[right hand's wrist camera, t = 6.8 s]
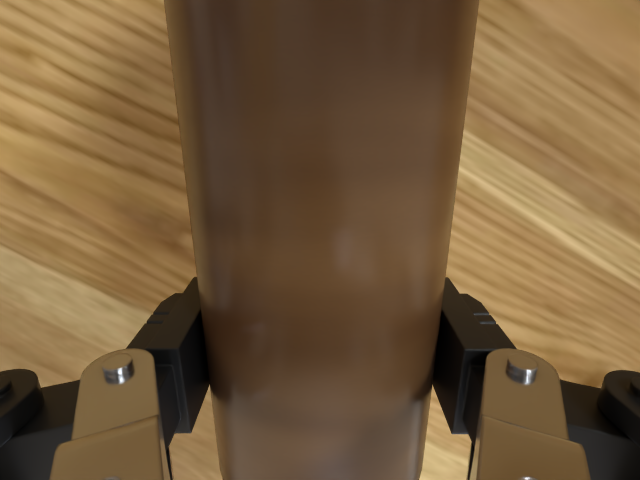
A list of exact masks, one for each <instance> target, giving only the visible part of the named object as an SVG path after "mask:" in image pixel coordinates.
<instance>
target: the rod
mask: <svg viewBox="0 0 640 480" xmlns="http://www.w3.org/2000/svg"><path fill="white" fill-rule="evenodd" d="M164 4H165V13H166V21H167V29H168V38H169V46H170V54H171V63H172V71H173V79H174V88H175V96H176V105H177V113H178V121H179V130H180V138H181V146H182V155H183V163H184V172H185V180H186V188H187V197H188V205H189V213H190V222H191V230H192V238H193V247H194V255H195V264H196V272H197V280H198V289H199V297H200V305H201V314H202V322H203V331H204V339H205V347H206V356H207V364H208V372H209V381H210V389H211V398H212V406H213V414H214V423H215V431H216V439H217V448H218V456H219V464H220V471H221V475H222V478H223V480H419V478H420V474H421V471H422V464H423V456H424V448H425V440H426V431H427V423H428V415H429V407H430V399H431V390H432V382H433V374H434V366H435V358H436V350H437V341H438V333H439V325H440V317H441V309H442V300H443V292H444V284H445V276H446V268H447V260H448V251H449V243H450V235H451V227H452V219H453V210H454V202H455V194H456V186H457V178H458V169H459V161H460V153H461V145H462V137H463V129H464V120H465V112H466V104H467V96H468V88H469V79H470V71H471V63H472V55H473V47H474V39H475V30H476V22H477V14H478V6H479V0H164Z"/></svg>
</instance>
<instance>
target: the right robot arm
mask: <svg viewBox="0 0 640 480" xmlns="http://www.w3.org/2000/svg"><path fill="white" fill-rule="evenodd" d="M209 384H210V381H209V372H208V364H207V356H206V347H205V339H204V331H203V322H202V314H201V305H200V297H199V289H198V280H197V277H194V278H193V279H192V281H191V282H190V284H189V285H188V286H187V288H186V289H185V291H184V292H183V293H175V294H173V295H172V296H170V297H169V298H167V299H166V300H164V301H162V302H161V303H160V305H159V306H158V307H157V309H156V310H155V311H154V313H153V315H151V316H150V318H149V319H148V320H147V324H144V326H143V327H142V328H141V330H140V331H139V332H138V334H137V335H136V336H135V337H134V339H133V340H132V341H131V343H130V344H129V345H128V347H127V348H126V349H123V350H118V351H114V352H111V353H108V354H106V355H104V356H102V357H100V358H98V359H96V360H95V361H93V362H92V363H91V364H90V365H88V366H87V367H86V369H85V370H84V371H83V373H82V375H81V379H80V380H77V381H73V382H68V383H63V384H58V385H53V386H48V387H43V388H41V387H40V384H39V380H38V377H37V375H36V374H35V373H34V372H33V371H30V370H26V369H13V370H6V371H2V372H0V480H174V477H173V469H172V461H171V454H170V448H169V445H170V443H171V440H172V438H173V436H174V433H191V432H192V429H193V427H194V424H195V421H196V419H197V416H198V413H199V411H200V408H201V406H202V403H203V400H204V398H205V395H206V392H207V390H208V387H209ZM432 384H433V387H434V389H435V392H436V395H437V397H438V400H439V402H440V405H441V407H442V410H443V413H444V415H445V418H446V420H447V423H448V426H449V428H450V431H451V433H452V434H469V436H470V439H471V441H472V442H471V448H470V454H469V461H468V469H467V477H466V480H640V373H639V372H634V371H627V370H616V371H612V372H609V373H608V374H606V375H605V377H604V380H603V383H602V387H601V388H596V387H591V386H586V385H581V384H576V383H572V382H567V381H563V380H560V379H559V375H558V373H557V371H556V370H555V369H554V367H553V366H552V365H550V364H549V363H548V362H547V361H545V360H544V359H542V358H540V357H538V356H536V355H534V354H532V353H529V352H526V351H522V350H517V349H516V347H515V346H514V345H513V343H512V342H511V341H510V340H509V338H508V337H507V336H506V334H505V333H504V332H503V330H502V329H501V328H500V327H499V325H498V324H496V321H495V320H494V319H493V318H492V316H491V315H489V312H488V311H487V310H486V308H485V307H484V306H483V305H482V303H481V302H479V301H478V300H476V299H474V298H473V297H471V296H470V295H468V294H459V292H458V291H457V289H456V288H455V286H454V285H453V284H452V282H451V281H450V279H449V278H448V277H445V284H444V292H443V300H442V309H441V317H440V325H439V333H438V341H437V350H436V358H435V366H434V374H433V382H432Z"/></svg>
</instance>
